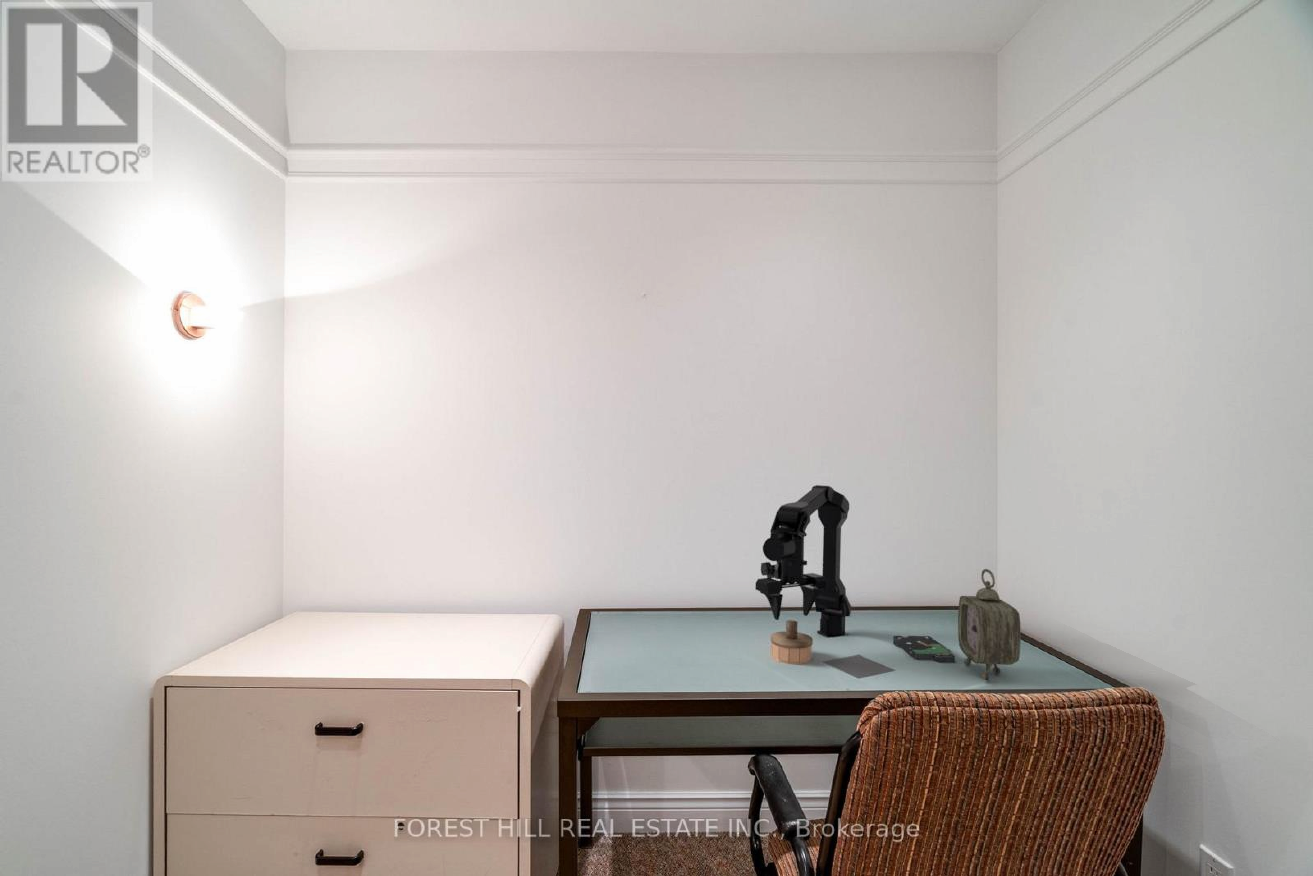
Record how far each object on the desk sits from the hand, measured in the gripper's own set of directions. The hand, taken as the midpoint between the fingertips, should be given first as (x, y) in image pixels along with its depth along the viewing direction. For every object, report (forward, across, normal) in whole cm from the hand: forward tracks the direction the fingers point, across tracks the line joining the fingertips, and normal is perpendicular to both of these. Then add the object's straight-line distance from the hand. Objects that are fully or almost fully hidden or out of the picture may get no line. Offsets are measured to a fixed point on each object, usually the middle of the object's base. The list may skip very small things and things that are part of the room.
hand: (791, 617), depth 161 cm
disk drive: (+11, -35, +10) cm, 39 cm away
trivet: (+11, -11, +12) cm, 19 cm away
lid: (+6, 0, 0) cm, 6 cm away
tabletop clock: (+11, -37, +28) cm, 48 cm away
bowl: (+11, 0, 0) cm, 11 cm away
